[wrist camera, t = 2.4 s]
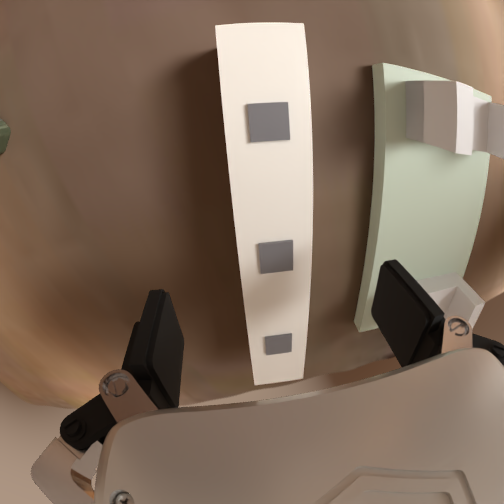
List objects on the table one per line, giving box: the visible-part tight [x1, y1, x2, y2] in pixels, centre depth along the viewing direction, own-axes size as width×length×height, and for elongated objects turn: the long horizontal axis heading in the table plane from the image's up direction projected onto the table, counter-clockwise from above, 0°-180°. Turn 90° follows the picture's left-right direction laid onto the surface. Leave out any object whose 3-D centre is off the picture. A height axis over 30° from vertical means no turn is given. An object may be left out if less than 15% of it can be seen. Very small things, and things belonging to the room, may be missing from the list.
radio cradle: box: [354, 63, 504, 332], centre depth 17 cm, size 12×22×6 cm, turn 5°
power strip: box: [215, 23, 313, 385], centre depth 17 cm, size 4×24×5 cm, turn 5°
